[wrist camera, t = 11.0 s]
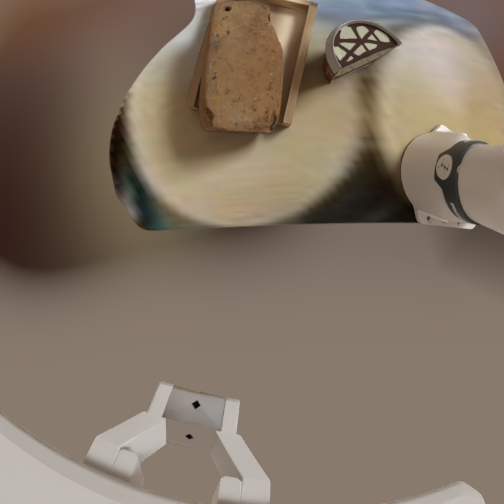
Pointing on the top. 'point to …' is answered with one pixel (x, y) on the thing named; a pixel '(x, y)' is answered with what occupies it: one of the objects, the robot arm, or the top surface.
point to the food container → (356, 47)
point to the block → (241, 70)
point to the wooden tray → (293, 44)
